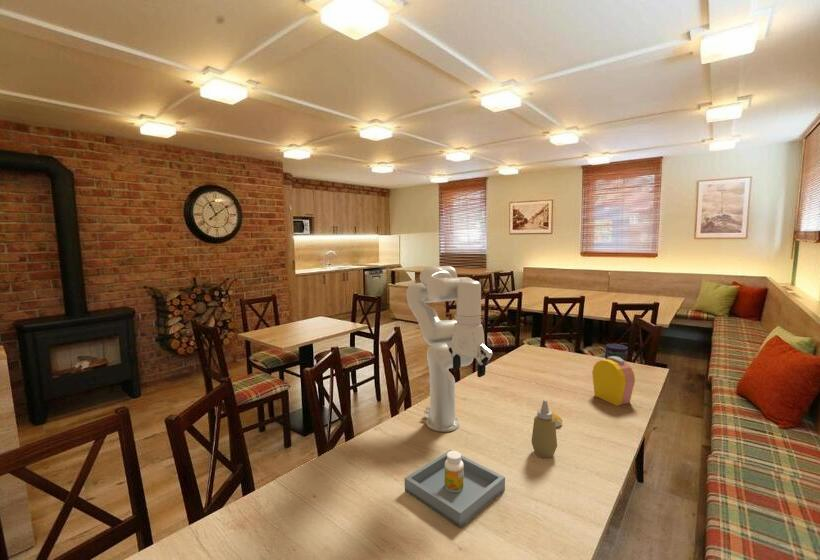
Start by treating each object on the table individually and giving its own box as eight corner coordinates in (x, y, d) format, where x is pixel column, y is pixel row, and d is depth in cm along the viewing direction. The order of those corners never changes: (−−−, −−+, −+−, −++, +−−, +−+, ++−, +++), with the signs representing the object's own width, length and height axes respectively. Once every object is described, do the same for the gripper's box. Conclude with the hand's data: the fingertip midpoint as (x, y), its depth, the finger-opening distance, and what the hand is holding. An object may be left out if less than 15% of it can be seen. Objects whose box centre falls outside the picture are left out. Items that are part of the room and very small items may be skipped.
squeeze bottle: (540, 462, 123) (541, 407, 121) (526, 449, 131) (527, 397, 128) (562, 458, 125) (563, 404, 123) (547, 445, 133) (548, 394, 131)
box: (404, 491, 110) (404, 477, 110) (450, 461, 124) (450, 449, 124) (460, 528, 96) (460, 513, 96) (504, 490, 110) (505, 477, 109)
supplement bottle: (440, 487, 110) (440, 454, 109) (452, 478, 114) (452, 447, 113) (455, 495, 106) (455, 462, 105) (467, 486, 110) (467, 454, 109)
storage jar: (599, 372, 200) (601, 344, 198) (615, 370, 202) (616, 342, 201) (615, 379, 190) (616, 349, 188) (631, 377, 193) (632, 347, 191)
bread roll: (551, 416, 154) (552, 406, 154) (565, 426, 145) (566, 416, 145) (533, 418, 152) (533, 408, 152) (546, 429, 144) (546, 419, 143)
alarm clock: (634, 403, 163) (636, 361, 161) (620, 407, 160) (622, 364, 158) (605, 390, 177) (606, 351, 175) (591, 393, 174) (593, 354, 172)
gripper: (440, 317, 126) (440, 368, 128) (484, 326, 113) (484, 382, 115) (454, 314, 131) (455, 363, 133) (499, 321, 119) (498, 375, 121)
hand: (468, 372), depth 124 cm, fingers open, 9 cm apart
